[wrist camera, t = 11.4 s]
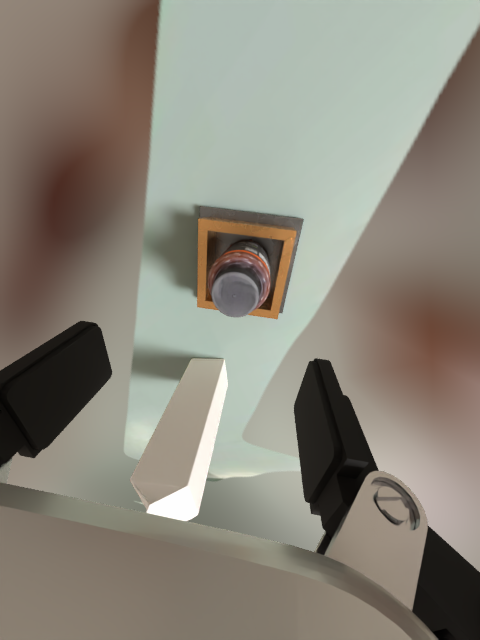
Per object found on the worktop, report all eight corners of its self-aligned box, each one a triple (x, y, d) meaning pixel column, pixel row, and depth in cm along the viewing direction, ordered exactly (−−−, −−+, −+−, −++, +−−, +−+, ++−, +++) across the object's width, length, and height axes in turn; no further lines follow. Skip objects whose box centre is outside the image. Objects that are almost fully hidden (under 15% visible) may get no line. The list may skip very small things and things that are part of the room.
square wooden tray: (202, 206, 25) (188, 206, 21) (302, 218, 25) (309, 221, 20) (200, 298, 31) (189, 312, 27) (281, 310, 31) (283, 327, 26)
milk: (224, 358, 36) (176, 531, 17) (228, 384, 39) (189, 559, 20) (190, 357, 37) (106, 522, 18) (196, 383, 40) (129, 550, 20)
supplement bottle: (228, 288, 29) (207, 331, 19) (218, 243, 26) (188, 265, 16) (272, 282, 28) (274, 324, 18) (267, 234, 25) (265, 252, 15)
